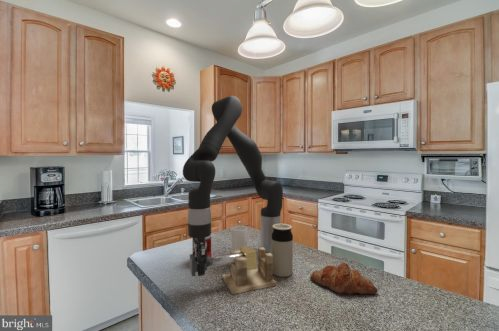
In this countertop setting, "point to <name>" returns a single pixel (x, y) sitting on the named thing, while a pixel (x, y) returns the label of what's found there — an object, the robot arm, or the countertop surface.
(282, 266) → the travel mug
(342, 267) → the pastry
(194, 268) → the shaft
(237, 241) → the drinking glass
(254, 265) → the block
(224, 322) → the countertop surface
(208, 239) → the canned food
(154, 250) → the countertop surface
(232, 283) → the block
